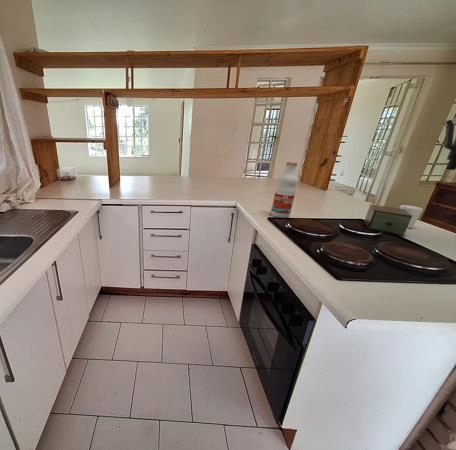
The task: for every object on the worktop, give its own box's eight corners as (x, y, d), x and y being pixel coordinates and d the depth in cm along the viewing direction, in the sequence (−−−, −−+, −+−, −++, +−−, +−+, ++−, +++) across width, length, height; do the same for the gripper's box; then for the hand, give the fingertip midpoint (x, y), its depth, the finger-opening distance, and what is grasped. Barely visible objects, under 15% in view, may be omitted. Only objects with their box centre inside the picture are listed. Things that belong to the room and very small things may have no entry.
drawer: (403, 235, 104) (411, 218, 101) (370, 229, 110) (376, 213, 107) (396, 226, 116) (402, 211, 113) (366, 221, 122) (371, 206, 119)
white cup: (400, 227, 117) (409, 208, 114) (388, 222, 124) (396, 204, 121) (418, 229, 116) (427, 210, 112) (405, 224, 123) (413, 205, 120)
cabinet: (403, 235, 106) (412, 215, 103) (367, 229, 113) (374, 210, 109) (396, 227, 117) (403, 208, 114) (363, 221, 124) (370, 204, 121)
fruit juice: (289, 214, 130) (301, 162, 120) (289, 219, 122) (303, 164, 112) (270, 212, 134) (281, 161, 124) (269, 216, 126) (281, 162, 116)
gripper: (459, 96, 79) (428, 168, 87) (523, 94, 72) (483, 172, 80) (450, 100, 85) (422, 167, 93) (508, 98, 78) (472, 170, 86)
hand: (450, 169), depth 86 cm, fingers closed
